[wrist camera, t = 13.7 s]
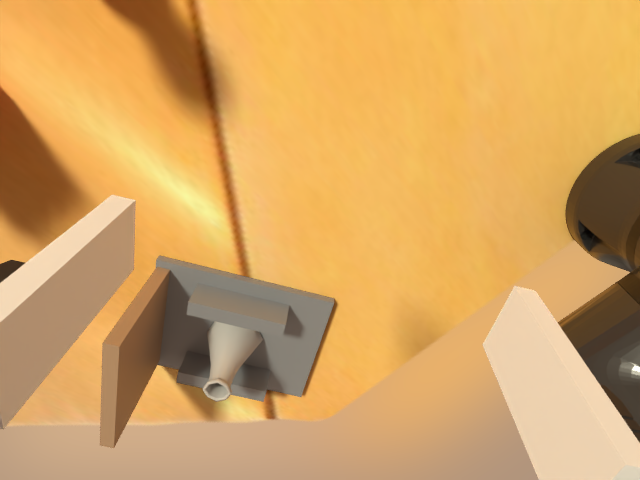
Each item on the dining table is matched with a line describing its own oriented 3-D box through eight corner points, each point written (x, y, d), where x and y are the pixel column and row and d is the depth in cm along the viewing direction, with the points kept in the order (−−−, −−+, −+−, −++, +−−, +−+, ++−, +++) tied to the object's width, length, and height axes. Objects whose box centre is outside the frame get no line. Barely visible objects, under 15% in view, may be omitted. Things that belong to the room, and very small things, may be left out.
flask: (272, 339, 59) (260, 397, 50) (234, 361, 61) (215, 421, 52) (237, 304, 56) (217, 359, 47) (198, 329, 58) (172, 385, 50)
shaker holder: (334, 298, 56) (331, 387, 43) (301, 391, 65) (291, 489, 51) (159, 255, 54) (100, 334, 41) (149, 357, 63) (98, 450, 49)
